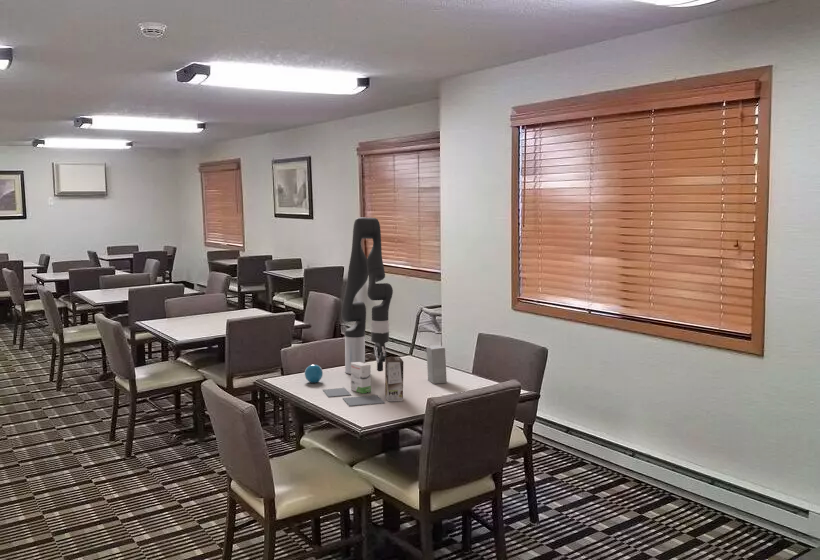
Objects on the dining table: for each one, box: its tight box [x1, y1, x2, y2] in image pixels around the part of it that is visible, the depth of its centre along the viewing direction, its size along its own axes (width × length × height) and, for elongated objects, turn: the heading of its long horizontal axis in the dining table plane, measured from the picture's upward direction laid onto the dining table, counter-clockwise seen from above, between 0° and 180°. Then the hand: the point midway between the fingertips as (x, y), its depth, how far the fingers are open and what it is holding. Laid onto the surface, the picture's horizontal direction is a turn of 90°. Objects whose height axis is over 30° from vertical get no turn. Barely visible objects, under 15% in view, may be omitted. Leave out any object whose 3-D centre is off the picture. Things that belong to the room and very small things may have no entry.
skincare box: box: [425, 344, 448, 385], centre depth 304 cm, size 8×7×16 cm
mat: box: [322, 387, 386, 407], centre depth 280 cm, size 26×20×1 cm
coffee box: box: [384, 356, 404, 402], centre depth 277 cm, size 9×6×16 cm
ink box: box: [350, 362, 372, 394], centre depth 288 cm, size 9×5×12 cm, turn 39°
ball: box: [304, 364, 324, 384], centre depth 302 cm, size 8×8×8 cm
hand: (380, 370), depth 291 cm, fingers closed
